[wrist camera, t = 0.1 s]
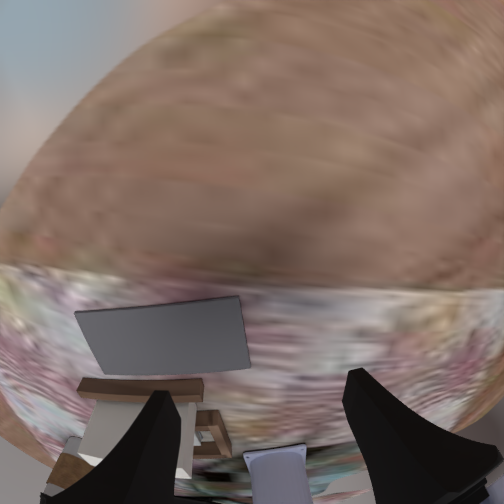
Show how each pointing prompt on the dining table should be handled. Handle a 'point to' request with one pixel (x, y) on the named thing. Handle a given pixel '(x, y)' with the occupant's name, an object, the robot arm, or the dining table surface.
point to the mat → (168, 338)
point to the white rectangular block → (118, 422)
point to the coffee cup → (66, 470)
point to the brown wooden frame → (180, 394)
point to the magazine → (192, 501)
